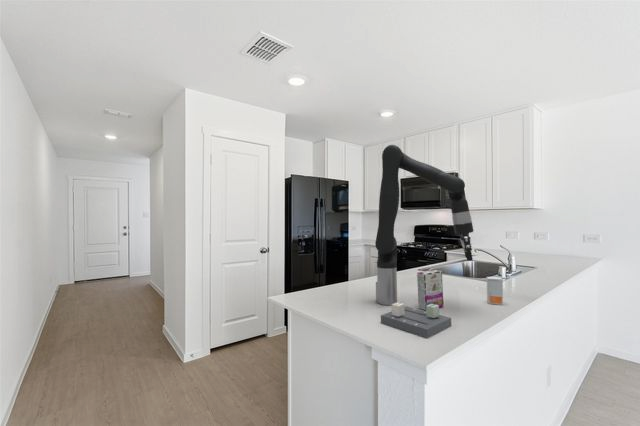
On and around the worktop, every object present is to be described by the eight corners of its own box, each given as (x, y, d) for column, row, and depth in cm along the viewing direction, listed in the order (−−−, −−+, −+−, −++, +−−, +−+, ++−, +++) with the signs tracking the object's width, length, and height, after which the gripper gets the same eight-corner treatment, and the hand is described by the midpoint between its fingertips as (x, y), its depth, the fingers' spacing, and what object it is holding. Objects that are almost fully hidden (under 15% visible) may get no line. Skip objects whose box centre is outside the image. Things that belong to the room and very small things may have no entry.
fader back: (426, 316, 115) (426, 305, 115) (431, 313, 118) (431, 303, 118) (433, 318, 113) (433, 307, 113) (439, 315, 115) (438, 305, 115)
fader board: (380, 322, 119) (380, 315, 119) (406, 313, 130) (406, 306, 130) (427, 338, 103) (426, 329, 103) (451, 325, 114) (451, 317, 114)
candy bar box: (435, 304, 141) (434, 269, 141) (443, 307, 137) (442, 271, 137) (417, 308, 136) (416, 271, 136) (426, 311, 132) (425, 273, 132)
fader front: (391, 314, 118) (391, 304, 118) (398, 312, 120) (397, 302, 120) (398, 316, 115) (398, 305, 115) (404, 314, 118) (404, 303, 118)
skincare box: (488, 304, 140) (487, 278, 140) (487, 301, 144) (486, 276, 144) (503, 305, 137) (502, 279, 138) (501, 302, 141) (501, 277, 141)
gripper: (452, 223, 141) (458, 257, 140) (453, 224, 128) (460, 262, 127) (470, 220, 138) (476, 255, 137) (473, 221, 125) (480, 260, 124)
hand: (469, 259), depth 132 cm, fingers open, 8 cm apart
